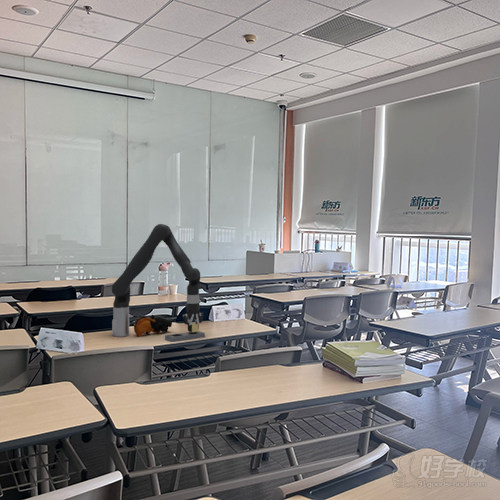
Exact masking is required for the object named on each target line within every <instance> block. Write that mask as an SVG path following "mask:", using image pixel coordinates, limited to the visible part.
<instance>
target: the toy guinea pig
mask: <svg viewBox="0 0 500 500" xmlns="http://www.w3.org/2000/svg"><path fill="white" fill-rule="evenodd" d="M172 325H173V321H171V319H166V318H164V317H161V316H157V317H155V315H153V314H151V316H150V317H148V316H145V315H143V316H141V317H140V318H138V319H136V321H135V323H134V325H133V332H134V334H135V335H136V337H139V338H141V337H142V336H143V335H144V334H145V335H149V334H151V333H155V334H158V335H161V332H163V333H168V330H169V328H171V327H172Z"/></svg>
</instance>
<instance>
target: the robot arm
mask: <svg viewBox="0 0 500 500" xmlns="http://www.w3.org/2000/svg"><path fill="white" fill-rule="evenodd" d="M161 242H163V243H164V244H165V245H166V246H167V248H168V249H169V251H170V253H171V255H172V257H173V259H174V260H175V262H176V263H177V265H178V266H179V268H180V269H181V272H182V273H183V276H184V277H185V279H187V280H188V284H187V288H186V313H185V314H182V320H183V323H184V325H187V332H191V323H193V320H194V323H196V324H198V330H199V329H200V324H202V323H203V319H204V315H205V313H204V312H200V283H201V272H200V270H199V269H198V268H196V267H195V268H193V266H192V264H191V263H192V262H191V259H190V258H189V257H188V256H187V254H186V253H185V251H184V250H183V248H182V247H181V245H179V243H178V241H177V239H176V238H175V236H174V233H173V232H172V229H171V227H170V226H169V225H167V224H163V223H158V224H157V225H155V226H154V227H153V229H152V231H151V233H150V234H149V235H148V237H147V239H146V241H145V242H144V243H143V244H142V245H141V247H140V248H139V249H138V251H136V253H135V254H134V256H133V257H132V258H131V260H130V261H129V263H128V265H127V266H126V268H125V269H124V271H123V272H122V273H121V274H120V276H119V277H118V278H117V279H116V280H115V281H114V283H112V285H111V292H112V294H113V295H114V299H113V300H114V301H113V303H112V305H113V309H112V310H113V313H112V314H113V319H112V321H111V325H112V326H111V328H112V329H111V330H112V333H111V335H112V336H113V337H116V338H117V337H127V336H130V301H131V284H132V282H133V281H134V280H135V279H136V278H137V277H138V276H139V275H140V274H141V273H142V272H143V271H144V269H146V267H147V266H148V265H149V263H150V262H151V261H152V259H153V256H154V253H155V251H156V249H157V247H158V246H159V244H160V243H161Z"/></svg>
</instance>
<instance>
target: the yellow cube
mask: <svg viewBox="0 0 500 500" xmlns="http://www.w3.org/2000/svg"><path fill="white" fill-rule="evenodd" d="M198 331H199V329H198V324H196V323H195V322H191V332H198Z"/></svg>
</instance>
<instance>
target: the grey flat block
mask: <svg viewBox="0 0 500 500" xmlns="http://www.w3.org/2000/svg"><path fill="white" fill-rule="evenodd" d="M205 337H206V334H205V332H204V331H200V330H198V332H189V331H187V332H186V331H185V332H180V333H173V334H165V335H164V340H165V341H168V342H170V343H175V342H182V341H188V340H193V339H194V340H195V339H201V338H205Z"/></svg>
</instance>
